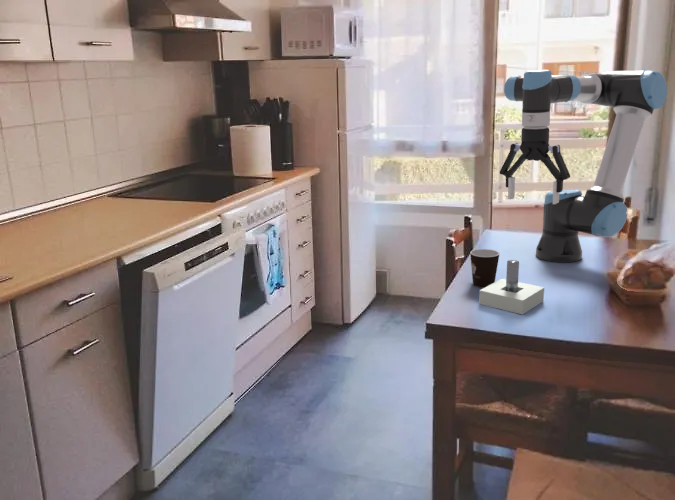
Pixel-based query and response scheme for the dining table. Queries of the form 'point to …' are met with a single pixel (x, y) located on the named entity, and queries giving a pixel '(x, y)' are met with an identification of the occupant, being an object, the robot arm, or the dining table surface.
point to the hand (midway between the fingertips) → (532, 200)
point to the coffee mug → (484, 266)
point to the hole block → (511, 297)
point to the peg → (512, 276)
